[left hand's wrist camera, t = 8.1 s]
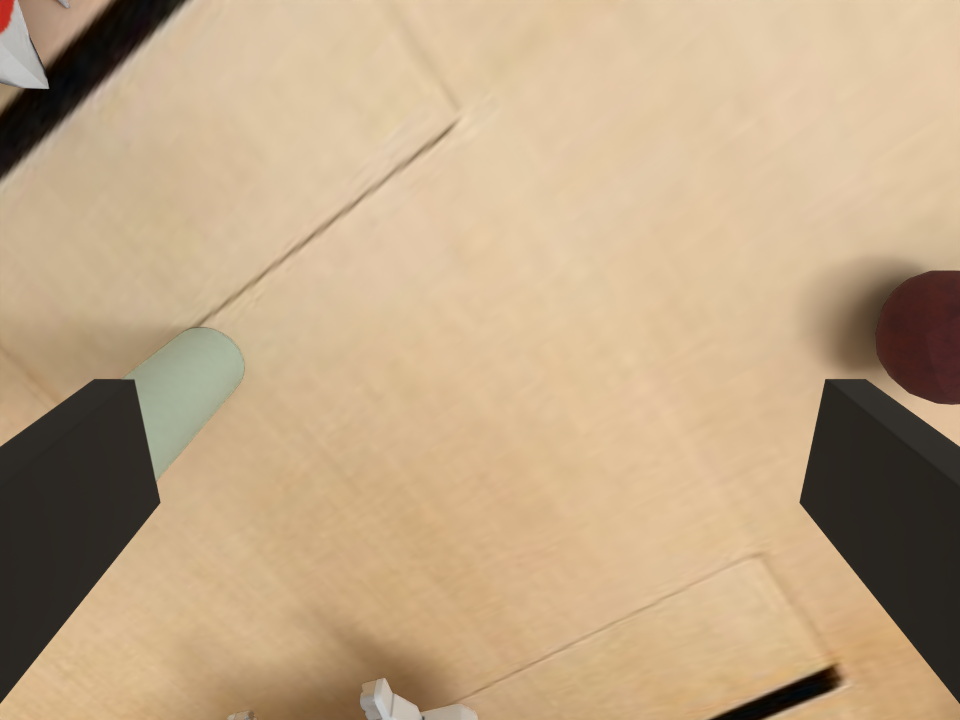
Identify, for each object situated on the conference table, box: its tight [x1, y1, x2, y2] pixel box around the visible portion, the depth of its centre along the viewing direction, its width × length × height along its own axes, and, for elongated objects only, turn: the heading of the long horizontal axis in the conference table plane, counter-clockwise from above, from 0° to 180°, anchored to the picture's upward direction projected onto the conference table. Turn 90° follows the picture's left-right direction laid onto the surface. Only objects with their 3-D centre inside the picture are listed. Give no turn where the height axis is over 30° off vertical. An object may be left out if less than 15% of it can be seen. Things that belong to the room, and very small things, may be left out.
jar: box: [122, 328, 244, 481], centre depth 34 cm, size 5×5×19 cm
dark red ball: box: [875, 271, 960, 405], centre depth 38 cm, size 7×8×7 cm
